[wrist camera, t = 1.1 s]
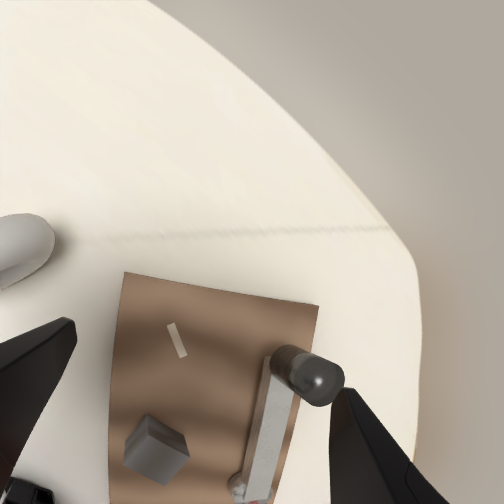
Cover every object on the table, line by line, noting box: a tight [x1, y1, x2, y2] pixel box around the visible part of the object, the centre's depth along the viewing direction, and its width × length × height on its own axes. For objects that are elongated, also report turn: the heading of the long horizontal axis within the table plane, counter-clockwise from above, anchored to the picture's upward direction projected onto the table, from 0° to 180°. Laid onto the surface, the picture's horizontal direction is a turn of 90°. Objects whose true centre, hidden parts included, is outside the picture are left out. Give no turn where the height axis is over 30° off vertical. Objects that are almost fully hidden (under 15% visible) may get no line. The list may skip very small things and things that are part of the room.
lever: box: [228, 344, 345, 504], centre depth 22 cm, size 19×4×9 cm, turn 170°
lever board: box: [108, 272, 319, 504], centre depth 24 cm, size 26×18×5 cm
